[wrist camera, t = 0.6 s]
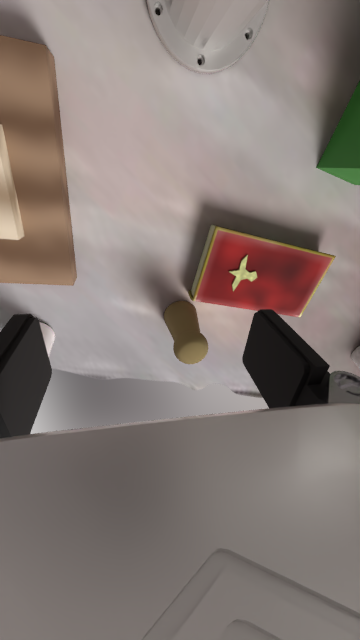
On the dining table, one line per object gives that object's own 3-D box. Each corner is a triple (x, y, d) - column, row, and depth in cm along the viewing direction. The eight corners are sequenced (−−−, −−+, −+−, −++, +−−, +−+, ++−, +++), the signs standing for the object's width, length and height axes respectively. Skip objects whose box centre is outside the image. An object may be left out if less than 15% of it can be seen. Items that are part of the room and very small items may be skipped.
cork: (167, 298, 42) (177, 336, 33) (200, 302, 44) (218, 339, 34) (160, 327, 45) (168, 369, 36) (191, 330, 47) (207, 371, 37)
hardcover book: (287, 308, 48) (300, 319, 45) (187, 291, 42) (192, 303, 39) (319, 249, 42) (336, 256, 39) (208, 220, 37) (216, 226, 33)
